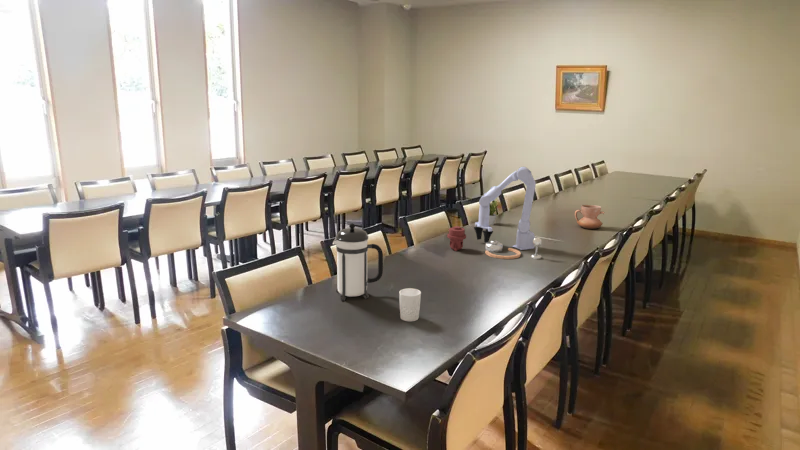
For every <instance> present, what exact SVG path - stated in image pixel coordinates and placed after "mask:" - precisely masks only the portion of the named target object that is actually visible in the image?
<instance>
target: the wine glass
mask: <svg viewBox="0 0 800 450" xmlns="http://www.w3.org/2000/svg"><path fill="white" fill-rule="evenodd" d="M542 243H543V241H542V238H540V237H538V236H537V237H536V236H535V238H534V239H533V244H534V247H535V253H533V254H531V255H530V258H531V259H533V260H541V259H542V255H541V254H538V249H539V247H540V246H541V245H543V244H542Z"/></svg>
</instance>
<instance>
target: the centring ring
mask: <svg viewBox="0 0 800 450" xmlns="http://www.w3.org/2000/svg"><path fill="white" fill-rule="evenodd" d="M507 251H509V252H512V253H515V254H513V255H498V254H495V253H493V252H490V251H487V250H485V252H484V253H485V255H486V256H489V257H491V258H494V259H500V260H501V259H502V260H513V259H517V258H520V257H521V254H522V253H521V250H519V249H517V248H512V247H507Z"/></svg>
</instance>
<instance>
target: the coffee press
mask: <svg viewBox="0 0 800 450" xmlns="http://www.w3.org/2000/svg"><path fill="white" fill-rule="evenodd" d="M368 240H369V235H368V233H367V231H366V230H363V229H361V228H356V226H355V223H351V222H350V224H349V226H348V227H347V228H343V229H340V230H339V231H338V232H337V234H336V235H335V238H334V240H333V241H332V245H335V246H336V249H335V250H336V261H337V262H336V265H337V266H336V272H337V275H336V276H337V285H336V286H337V289H336V291H335V292H336V293H337V294H340V295H341V296H340V297H341V298H340V301H341V302H345V301H346V300H347V298H348V297H359V296H361V297H363V298H364V299H365V300H367V299H368V298H369V297H370V295H369V294H368V284H370V283H375V282H378V281H380V279H381V278H382V276H383V272H384V271H383V270H384V253H383V250H382V248H381V246H379V245H378V244H375V243H371V244H368ZM369 249H373V250H376V251H377V254H378V255H377V258H378V259H377V262H378V263H377V274H376V276H374V277H370V278H368V250H369Z"/></svg>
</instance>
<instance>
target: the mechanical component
mask: <svg viewBox="0 0 800 450" xmlns="http://www.w3.org/2000/svg"><path fill="white" fill-rule="evenodd" d="M465 231H466V230H465V228H463V227H461V226H459V225H457V226H456V225H455V226H453V227H450V228H449V229H448V233H447V235H446V237H447V238H448V239H449V247H450V249H451V250H453V251H454V252H457V251H459V250H463V247H464V240H465V239H467V234H466V232H465Z"/></svg>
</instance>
